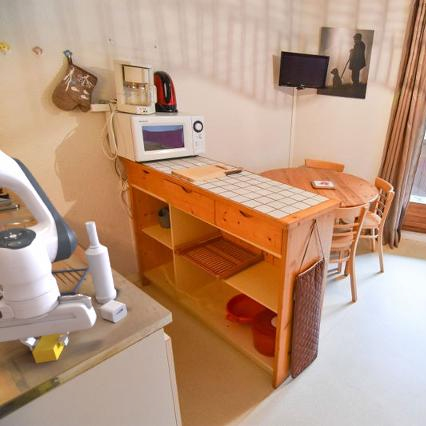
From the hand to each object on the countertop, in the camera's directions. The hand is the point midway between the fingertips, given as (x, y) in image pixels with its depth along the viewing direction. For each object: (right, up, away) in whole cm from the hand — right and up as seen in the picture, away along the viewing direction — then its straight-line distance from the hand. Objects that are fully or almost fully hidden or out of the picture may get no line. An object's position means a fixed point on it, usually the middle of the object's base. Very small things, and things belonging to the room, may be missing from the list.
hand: (50, 346), depth 75 cm
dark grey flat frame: (-16, +9, +23) cm, 29 cm away
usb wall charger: (+6, +3, +13) cm, 15 cm away
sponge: (0, -2, +1) cm, 2 cm away
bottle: (0, +6, +19) cm, 20 cm away
